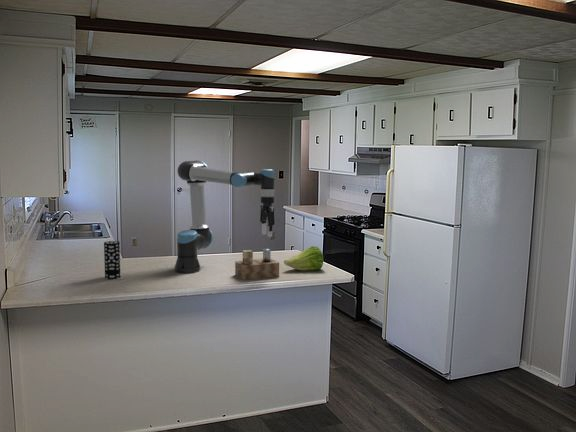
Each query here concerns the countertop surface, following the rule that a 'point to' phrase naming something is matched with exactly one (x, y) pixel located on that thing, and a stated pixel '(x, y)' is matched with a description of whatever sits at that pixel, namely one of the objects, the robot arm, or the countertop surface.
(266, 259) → the metal peg
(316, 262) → the lettuce
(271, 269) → the socket block
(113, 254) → the white-spotted black cylinder
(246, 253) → the oak peg
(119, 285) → the countertop surface
